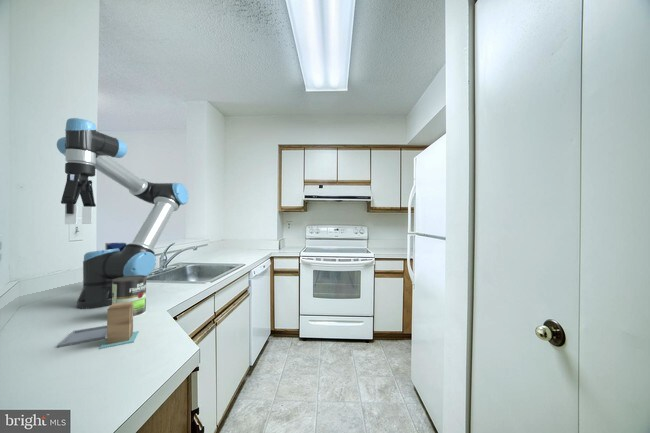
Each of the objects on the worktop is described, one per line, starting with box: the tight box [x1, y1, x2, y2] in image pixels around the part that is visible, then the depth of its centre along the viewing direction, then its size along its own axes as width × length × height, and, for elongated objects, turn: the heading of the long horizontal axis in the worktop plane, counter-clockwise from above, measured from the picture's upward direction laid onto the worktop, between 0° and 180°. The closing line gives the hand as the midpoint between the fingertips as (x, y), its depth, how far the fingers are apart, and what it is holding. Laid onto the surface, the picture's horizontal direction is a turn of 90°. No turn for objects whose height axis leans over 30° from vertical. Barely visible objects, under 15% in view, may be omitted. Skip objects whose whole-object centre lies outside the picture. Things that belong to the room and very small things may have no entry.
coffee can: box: [111, 275, 148, 319], centre depth 92 cm, size 10×10×14 cm
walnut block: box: [106, 301, 134, 345], centre depth 72 cm, size 5×5×10 cm
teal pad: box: [99, 330, 140, 350], centre depth 72 cm, size 8×8×1 cm
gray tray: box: [57, 325, 107, 349], centre depth 74 cm, size 10×10×1 cm
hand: (79, 224), depth 85 cm, fingers open, 13 cm apart
